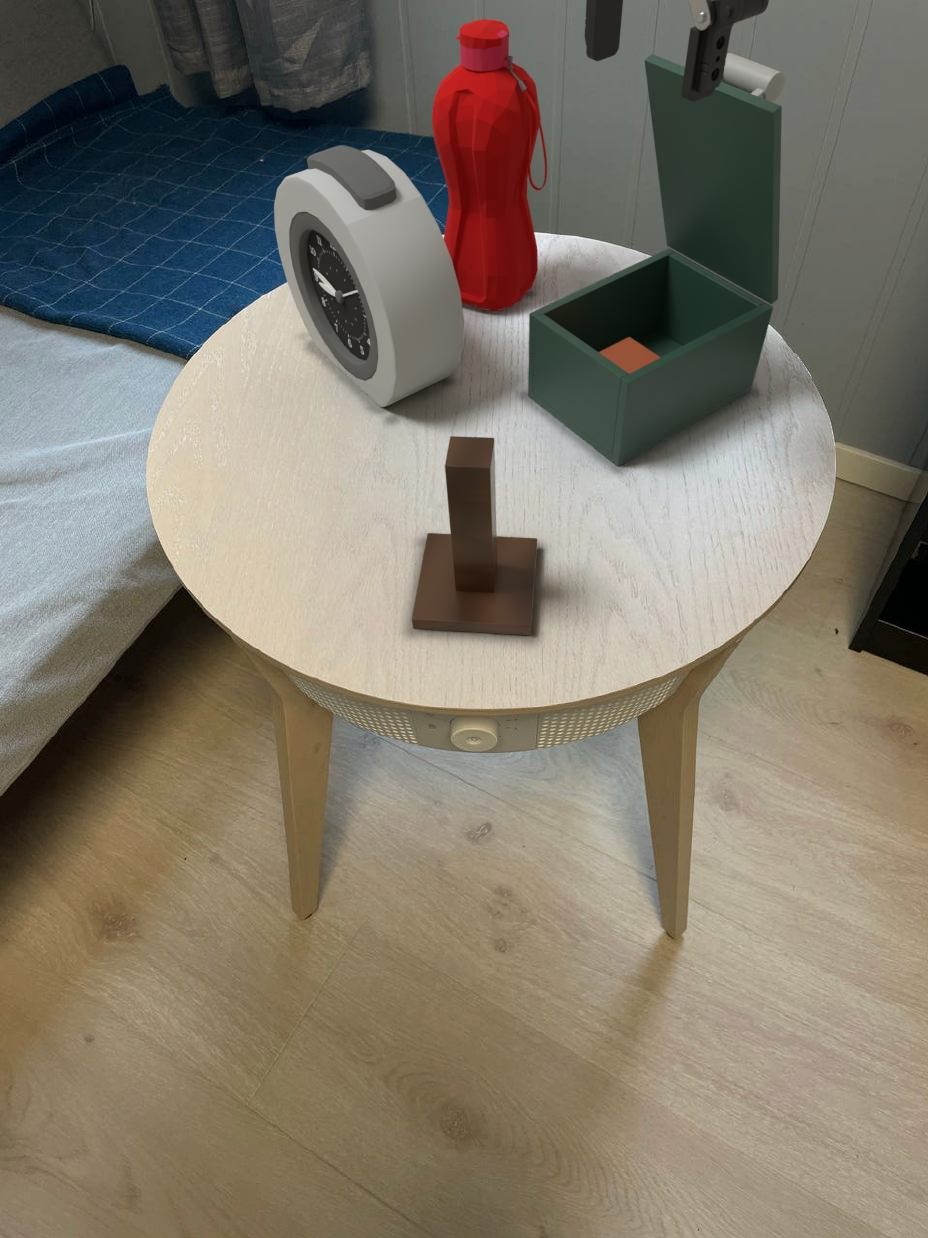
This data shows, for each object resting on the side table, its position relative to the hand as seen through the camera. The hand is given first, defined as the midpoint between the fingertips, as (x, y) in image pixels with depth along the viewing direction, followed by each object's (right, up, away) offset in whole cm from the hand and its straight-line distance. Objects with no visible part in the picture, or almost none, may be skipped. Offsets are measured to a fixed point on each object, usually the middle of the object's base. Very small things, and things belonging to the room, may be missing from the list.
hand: (647, 75), depth 53 cm
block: (+4, -13, +27) cm, 30 cm away
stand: (-10, -31, +14) cm, 36 cm away
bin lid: (+9, +1, +16) cm, 18 cm away
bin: (+5, -12, +28) cm, 31 cm away
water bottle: (-8, +2, +40) cm, 41 cm away
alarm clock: (-20, -8, +33) cm, 40 cm away
